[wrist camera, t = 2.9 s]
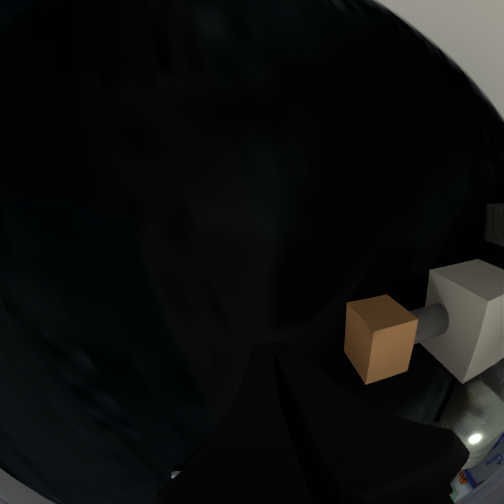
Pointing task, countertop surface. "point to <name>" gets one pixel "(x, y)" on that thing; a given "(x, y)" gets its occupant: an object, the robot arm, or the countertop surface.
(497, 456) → the lunch bag
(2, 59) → the countertop surface
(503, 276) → the plug
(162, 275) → the countertop surface
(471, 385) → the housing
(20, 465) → the countertop surface
